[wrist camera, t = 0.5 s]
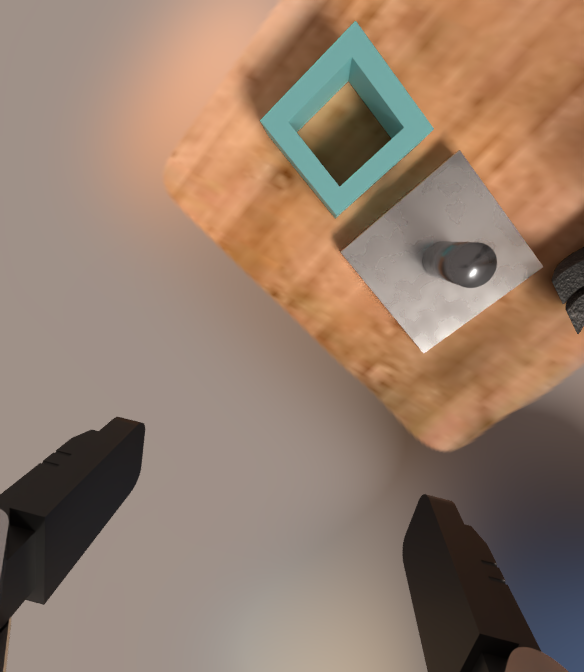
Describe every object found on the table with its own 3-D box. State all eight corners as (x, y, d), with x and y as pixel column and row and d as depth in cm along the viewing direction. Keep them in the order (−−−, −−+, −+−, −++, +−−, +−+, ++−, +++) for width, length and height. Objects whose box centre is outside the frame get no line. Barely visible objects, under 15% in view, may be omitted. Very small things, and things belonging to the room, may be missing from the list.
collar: (351, 50, 28) (355, 20, 24) (419, 143, 30) (433, 128, 26) (267, 135, 30) (259, 120, 27) (335, 218, 32) (336, 215, 28)
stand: (452, 154, 30) (502, 122, 21) (533, 265, 31) (607, 275, 23) (339, 251, 32) (345, 256, 24) (419, 348, 34) (449, 383, 26)
